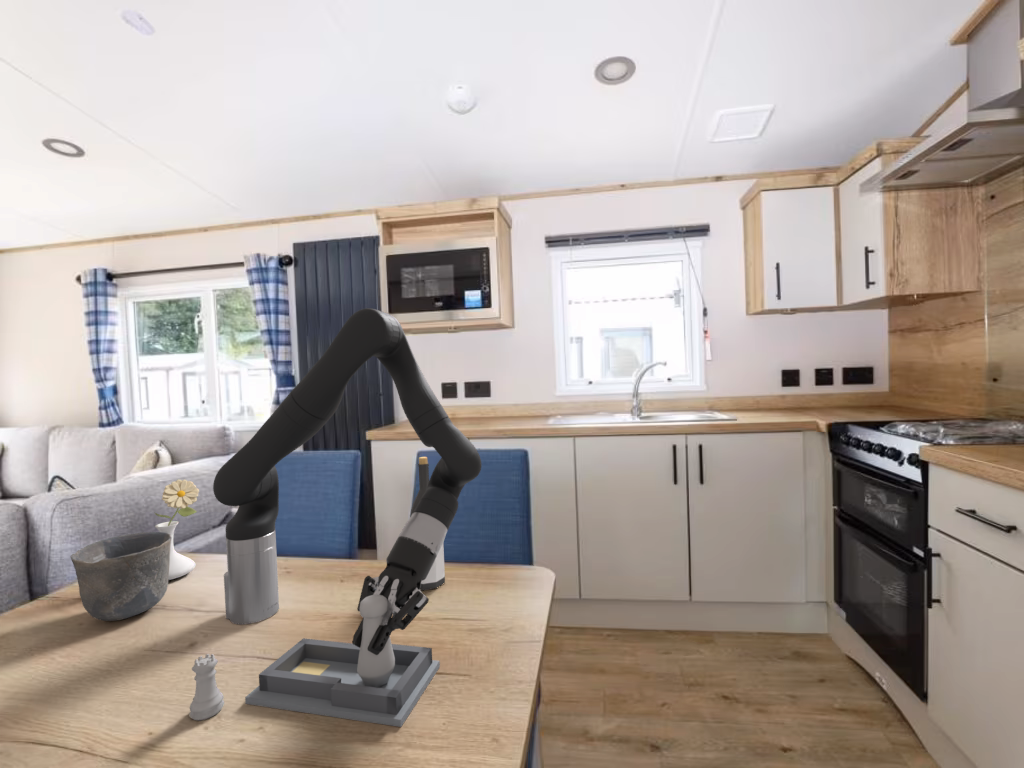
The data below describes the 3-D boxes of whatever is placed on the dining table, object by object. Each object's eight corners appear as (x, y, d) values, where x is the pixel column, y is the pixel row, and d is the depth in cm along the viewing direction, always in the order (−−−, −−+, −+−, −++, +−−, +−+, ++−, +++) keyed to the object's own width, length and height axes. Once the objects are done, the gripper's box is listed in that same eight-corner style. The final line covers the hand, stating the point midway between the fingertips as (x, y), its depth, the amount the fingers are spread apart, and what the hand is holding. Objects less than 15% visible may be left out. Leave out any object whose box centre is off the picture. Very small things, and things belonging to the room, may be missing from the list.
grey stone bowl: (53, 625, 100) (49, 554, 100) (144, 589, 116) (141, 528, 116) (104, 640, 93) (100, 564, 93) (193, 599, 109) (190, 535, 109)
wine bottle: (417, 575, 118) (412, 454, 117) (449, 576, 117) (444, 454, 116) (406, 590, 110) (400, 460, 109) (440, 591, 109) (434, 460, 108)
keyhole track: (439, 666, 80) (439, 646, 80) (401, 726, 66) (400, 702, 66) (305, 651, 86) (305, 632, 86) (245, 703, 73) (244, 681, 73)
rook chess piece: (200, 702, 73) (197, 651, 73) (230, 699, 74) (227, 648, 74) (182, 723, 69) (179, 669, 69) (214, 720, 69) (212, 666, 69)
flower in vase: (137, 590, 116) (131, 488, 116) (147, 574, 126) (142, 480, 126) (200, 578, 122) (195, 481, 122) (205, 563, 132) (201, 473, 132)
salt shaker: (385, 693, 72) (381, 608, 72) (350, 690, 73) (346, 606, 73) (401, 670, 77) (398, 590, 77) (369, 667, 79) (365, 589, 78)
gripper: (378, 529, 85) (320, 628, 75) (436, 541, 77) (381, 654, 67) (401, 548, 89) (350, 645, 79) (459, 562, 82) (410, 671, 72)
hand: (364, 648), depth 73 cm, fingers closed on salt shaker, 3 cm apart
